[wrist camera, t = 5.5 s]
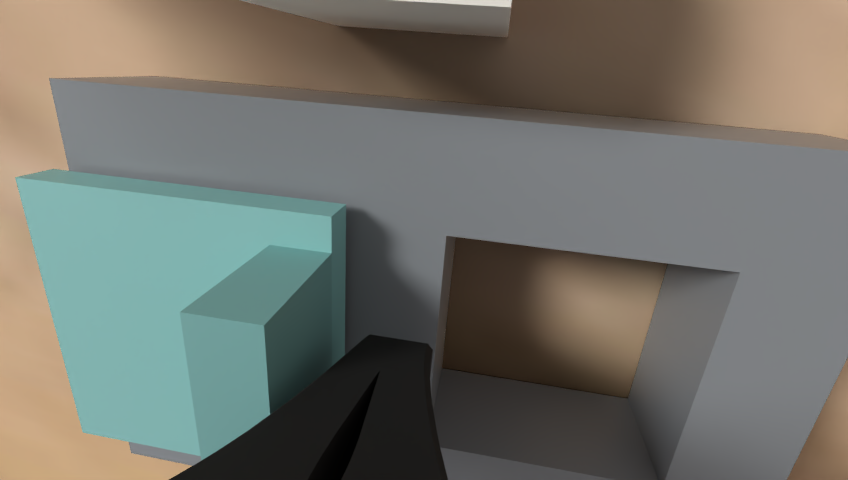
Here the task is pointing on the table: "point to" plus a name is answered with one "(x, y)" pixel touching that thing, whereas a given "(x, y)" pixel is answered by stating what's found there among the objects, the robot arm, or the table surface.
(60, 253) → the shutter
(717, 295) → the socket plate
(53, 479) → the table surface
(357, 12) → the plug
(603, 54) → the table surface
